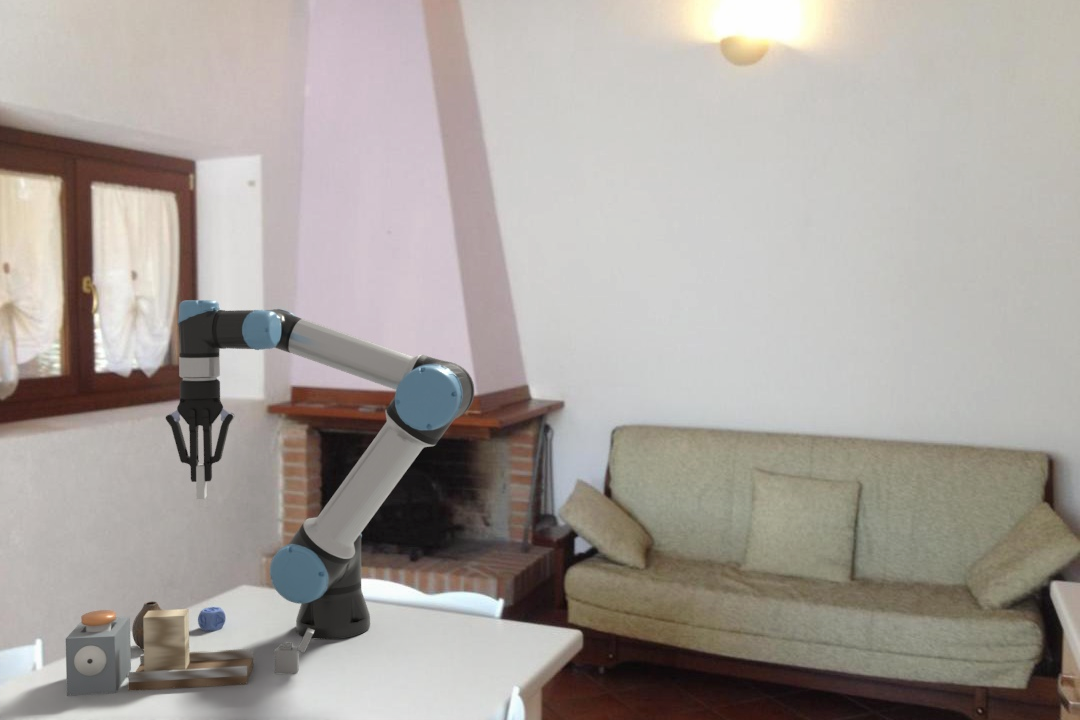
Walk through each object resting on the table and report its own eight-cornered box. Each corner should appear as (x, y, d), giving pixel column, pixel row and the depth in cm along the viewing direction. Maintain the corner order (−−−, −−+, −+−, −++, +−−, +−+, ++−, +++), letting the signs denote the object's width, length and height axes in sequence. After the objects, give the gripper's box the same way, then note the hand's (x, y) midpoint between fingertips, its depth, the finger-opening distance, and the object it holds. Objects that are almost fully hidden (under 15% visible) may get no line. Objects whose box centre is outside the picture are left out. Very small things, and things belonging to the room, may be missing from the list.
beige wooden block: (189, 662, 184) (188, 608, 183) (185, 670, 180) (184, 615, 179) (149, 664, 182) (148, 610, 182) (144, 672, 178) (143, 617, 178)
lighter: (274, 673, 184) (274, 630, 183) (276, 670, 185) (275, 627, 185) (313, 672, 184) (313, 630, 184) (315, 669, 186) (314, 627, 185)
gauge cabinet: (131, 669, 185) (129, 616, 185) (114, 694, 174) (113, 637, 173) (85, 672, 184) (83, 618, 183) (65, 696, 173) (64, 639, 172)
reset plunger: (120, 652, 182) (119, 609, 182) (112, 663, 177) (111, 619, 176) (87, 654, 181) (86, 611, 181) (78, 665, 176) (77, 620, 175)
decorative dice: (226, 627, 210) (225, 608, 210) (210, 632, 206) (210, 613, 206) (213, 624, 212) (212, 605, 212) (197, 629, 209) (197, 610, 208)
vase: (157, 654, 194) (156, 609, 193) (125, 651, 195) (124, 607, 195) (177, 642, 200) (176, 599, 200) (146, 639, 202) (145, 597, 201)
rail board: (253, 664, 188) (253, 648, 188) (246, 684, 179) (246, 667, 178) (141, 670, 185) (141, 654, 185) (128, 690, 175) (128, 674, 175)
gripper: (236, 377, 201) (238, 493, 202) (168, 377, 199) (171, 495, 200) (231, 379, 194) (233, 500, 195) (160, 380, 192) (163, 502, 193)
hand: (201, 497), depth 198 cm, fingers closed
